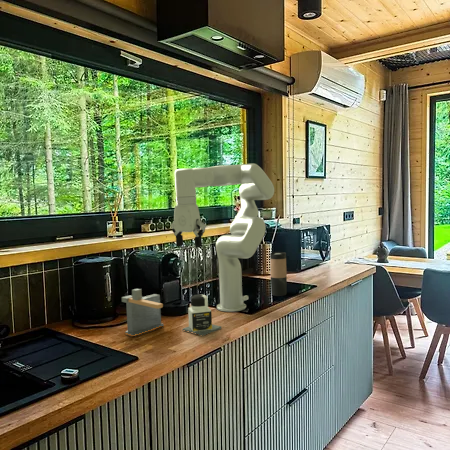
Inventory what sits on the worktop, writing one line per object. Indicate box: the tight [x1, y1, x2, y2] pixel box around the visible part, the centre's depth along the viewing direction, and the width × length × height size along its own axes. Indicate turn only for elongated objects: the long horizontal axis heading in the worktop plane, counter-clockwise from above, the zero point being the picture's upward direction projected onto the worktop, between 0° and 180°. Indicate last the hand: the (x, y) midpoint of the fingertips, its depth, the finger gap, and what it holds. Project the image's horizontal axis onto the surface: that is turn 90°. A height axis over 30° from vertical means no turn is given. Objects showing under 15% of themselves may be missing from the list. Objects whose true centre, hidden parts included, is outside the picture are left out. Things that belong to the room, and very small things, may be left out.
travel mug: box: [269, 251, 288, 297], centre depth 204 cm, size 8×8×20 cm
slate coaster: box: [182, 323, 222, 337], centre depth 155 cm, size 10×10×1 cm
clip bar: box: [121, 288, 164, 309], centre depth 145 cm, size 4×19×5 cm, turn 49°
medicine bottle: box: [187, 294, 213, 332], centre depth 154 cm, size 7×7×12 cm
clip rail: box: [125, 293, 164, 335], centre depth 156 cm, size 14×4×12 cm, turn 139°
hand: (189, 246), depth 162 cm, fingers open, 9 cm apart
